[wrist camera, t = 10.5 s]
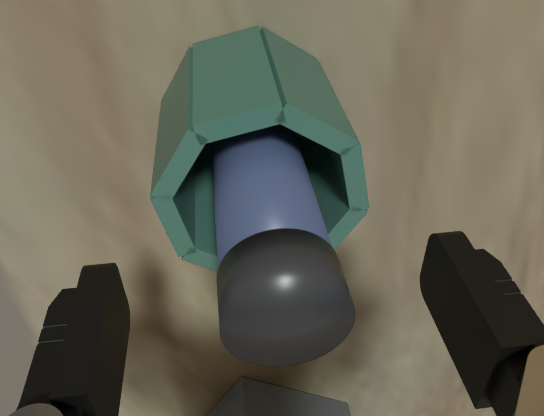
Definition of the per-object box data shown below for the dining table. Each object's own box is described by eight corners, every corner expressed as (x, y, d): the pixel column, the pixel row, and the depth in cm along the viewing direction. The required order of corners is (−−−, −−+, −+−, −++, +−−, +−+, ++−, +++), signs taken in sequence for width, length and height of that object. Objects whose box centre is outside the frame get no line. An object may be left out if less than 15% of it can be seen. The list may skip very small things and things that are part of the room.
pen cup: (356, 82, 19) (407, 167, 15) (272, 196, 22) (292, 297, 18) (214, -2, 17) (222, 69, 12) (141, 139, 20) (124, 239, 15)
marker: (304, 102, 19) (382, 302, 11) (261, 162, 20) (305, 377, 13) (232, 63, 18) (265, 260, 10) (193, 131, 19) (195, 349, 11)
